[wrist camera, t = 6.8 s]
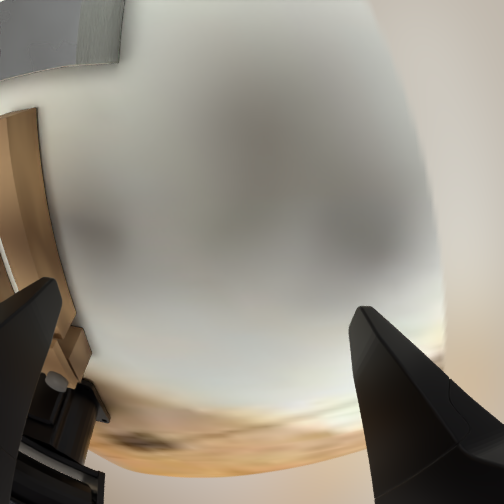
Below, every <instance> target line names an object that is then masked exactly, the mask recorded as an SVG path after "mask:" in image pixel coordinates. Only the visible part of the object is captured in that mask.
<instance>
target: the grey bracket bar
mask: <svg viewBox="0 0 504 504" xmlns="http://www.w3.org/2000/svg"><path fill="white" fill-rule="evenodd" d="M124 2H125V0H4V1H2V2H0V81H3V80H7V79H11V78H15V77H19V76H23V75H27V74H31V73H36V72H41V71H46V70H51V69H56V68H62V67H69V66H83V65H102V64H112V63H118V60H119V47H120V36H121V26H122V18H123V10H124Z"/></svg>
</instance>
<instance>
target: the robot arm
mask: <svg viewBox="0 0 504 504" xmlns="http://www.w3.org/2000/svg"><path fill="white" fill-rule="evenodd" d="M61 308H62V297H61V293H60V290H59V287H58V284H57V281H56V279H54V278H51V277H42V278H40V279H39V280H37V281H35V282H34V283H32V284H30V285H29V286H27V287H25V288H24V289H22V290H20V291H19V292H17V293H15V294H14V295H12V296H10V297H9V298H7V299H6V300H4V301H3V302H1V303H0V504H104V483H105V473H103V472H100V471H95V470H93V469H90V468H88V467H85V466H84V463H85V459H86V454H87V451H88V447H89V443H90V439H91V436H92V432H93V428H94V425H95V421H100V422H104V423H110V416H109V415H108V413H107V411H106V409H105V407H104V405H103V403H102V401H101V399H100V397H99V395H98V393H97V391H96V389H95V387H94V385H93V384H92V383H90V382H88V381H85V380H81V383H80V382H77V385H76V388H75V389H72V388H68V387H67V389H66V391H65V392H59V391H56V390H54V389H53V388H51V387H50V386H49V385H48V384H47V383H46V382H45V378H46V374H45V373H43V372H41V371H42V368H43V365H44V362H45V360H46V357H47V354H48V351H49V348H50V345H51V342H52V338H53V335H54V331H55V328H56V324H57V321H58V318H59V314H60V311H61ZM349 341H350V350H351V360H352V370H353V378H354V383H355V388H356V393H357V398H358V403H359V408H360V413H361V418H362V424H363V429H364V435H365V440H366V446H367V452H368V458H369V464H370V471H371V476H372V484H373V492H374V498H375V504H504V424H502V423H501V422H500V421H499V420H498V419H496V418H495V417H494V416H493V415H491V414H490V413H489V412H488V411H487V410H485V409H484V408H483V407H482V406H480V405H479V404H478V403H477V402H476V401H474V400H473V399H472V398H471V397H470V396H469V395H468V394H467V393H465V392H464V391H463V390H462V389H461V388H460V387H459V386H458V385H457V384H456V383H454V382H453V381H452V379H449V377H448V376H447V375H446V374H445V373H444V372H443V371H442V370H441V369H440V368H439V367H438V366H437V365H436V364H435V363H433V362H432V361H431V360H430V359H429V358H428V357H427V356H426V355H425V354H424V353H423V352H422V351H421V350H419V349H418V348H417V347H416V346H415V345H414V344H413V343H412V342H411V341H410V340H409V339H407V338H406V337H405V336H404V335H403V334H402V333H401V332H400V331H399V330H398V329H396V328H395V327H394V326H393V325H392V324H391V323H390V322H389V321H388V320H386V319H385V318H384V317H383V316H382V315H381V314H380V313H379V312H377V311H376V310H375V309H374V308H373V307H371V306H359V307H358V308H357V309H356V311H355V314H354V316H353V318H352V321H351V323H350V326H349ZM20 451H21V452H20ZM22 452H23V453H22ZM25 454H26V455H25ZM27 455H28V456H27ZM29 456H30V457H29ZM31 457H32V458H31ZM33 458H34V459H33ZM40 462H41V463H40ZM42 463H43V464H42ZM44 464H45V465H44ZM46 465H47V466H46ZM48 466H49V467H48ZM50 467H51V468H50ZM57 470H58V471H57ZM59 471H60V472H59ZM61 472H62V473H61ZM63 473H64V474H63ZM65 474H66V475H65ZM70 476H71V477H70ZM72 477H73V478H72ZM74 478H75V479H74ZM77 479H78V480H77ZM79 480H80V481H79Z"/></svg>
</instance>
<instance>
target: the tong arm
mask: <svg viewBox="0 0 504 504" xmlns="http://www.w3.org/2000/svg"><path fill="white" fill-rule="evenodd" d="M0 237H1V241H2V244H3V247H4V250H5V253H6V256H7V259H8V262H9V265H10V268H11V271H12V274H13V276H14V279H15V282H16V284H17V287H18V289H19V291H20V290H22V289H24V288H25V287H27V286H29V285H30V284H32V283H34V282H35V281H37V280H39V279H40V278H42V277H51V278H54V279H56V281H57V284H58V287H59V290H60V293H61V297H62V308H61V311H60V314H59V318H58V321H57V324H56V328H55V331H54V335H53V338H58V339H64V337H65V335H66V333H67V331H68V329H69V327H70V325H71V323H72V321H73V319H74V317H75V315H76V311H75V308H74V305H73V302H72V299H71V296H70V293H69V290H68V286H67V283H66V280H65V276H64V273H63V269H62V266H61V262H60V258H59V255H58V251H57V247H56V243H55V238H54V234H53V230H52V225H51V221H50V216H49V211H48V206H47V200H46V194H45V189H44V182H43V176H42V168H41V161H40V152H39V143H38V131H37V117H36V108H30V109H25V110H20V111H15V112H10V113H7V114H4V115H1V116H0ZM42 369H43V371H44V373H45V374H46V378H45V382H46V383H47V384H48V385H49V386H50V387H51V388H53V389H54V390H56V391H59V392H65V391H66V389H67V387H68V388H72V389H75V388H76V385H77V382H78V381H77V379H76V377H75V375H74V374H73V372H72V370H71V368H70V366H69V364H68V362H67V360H66V358H65V356H64V354H63V352H62V350H61V348H60V346H59V344H58V341H57V340H54V339H52V342H51V345H50V348H49V351H48V354H47V357H46V360H45V362H44V365H43V368H42Z"/></svg>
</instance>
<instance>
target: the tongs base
mask: <svg viewBox="0 0 504 504" xmlns="http://www.w3.org/2000/svg"><path fill="white" fill-rule="evenodd" d="M12 295H14V291H13V289H12V286H11V283H10V281H9V278H8V275H7V272H6V270H5V267H4V264H3V261H2V258H1V255H0V303H1V302H3V301H4V300H6V299H7V298H9V297H10V296H12ZM52 339H54V340H57V341H58V344H59V346H60V348H61V350H62V352H63V354H64V356H65V358H66V360H67V362H68V364H69V366H70V368H71V370H72V372H73V374H74V375H75V377H76V379H77V381H78V382H80V383H81V380H82V377H83V375H84V372H85V369H86V367H87V364H88V362H89V359H90V357H91V354H92V352H91V349H90V346H89V344H88V341H87V338H86V336H85V333H84V330H83V328H79V327H74V326H70V327H69V329H68V331H67V333H66V335H65V337H64V339H58V338H52ZM41 372H43V373H44V371H43V369H42V371H41Z"/></svg>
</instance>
